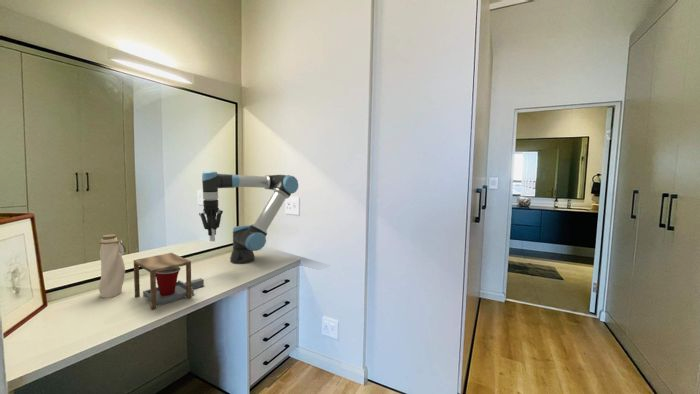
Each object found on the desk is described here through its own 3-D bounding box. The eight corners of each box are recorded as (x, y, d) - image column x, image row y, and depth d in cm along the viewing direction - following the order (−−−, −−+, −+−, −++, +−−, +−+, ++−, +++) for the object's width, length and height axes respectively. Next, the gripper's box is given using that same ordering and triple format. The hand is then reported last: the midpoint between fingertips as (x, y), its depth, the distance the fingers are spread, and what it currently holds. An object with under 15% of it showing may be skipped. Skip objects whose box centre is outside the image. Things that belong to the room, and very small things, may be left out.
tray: (194, 281, 153) (194, 275, 153) (210, 289, 144) (210, 282, 144) (143, 295, 134) (142, 289, 134) (157, 306, 125) (156, 298, 125)
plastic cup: (185, 292, 138) (185, 267, 137) (161, 300, 129) (161, 274, 128) (173, 286, 144) (172, 263, 142) (149, 294, 134) (148, 269, 133)
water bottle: (125, 287, 143) (123, 232, 140) (128, 293, 136) (126, 235, 134) (98, 293, 135) (95, 234, 133) (99, 299, 129) (97, 238, 126)
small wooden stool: (172, 286, 146) (171, 252, 145) (191, 297, 135) (190, 261, 133) (134, 296, 133) (133, 260, 132) (152, 310, 122) (151, 270, 120)
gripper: (217, 197, 167) (219, 237, 170) (195, 199, 156) (197, 242, 159) (225, 198, 163) (226, 239, 165) (203, 201, 152) (204, 244, 155)
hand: (212, 240), depth 162 cm, fingers closed
